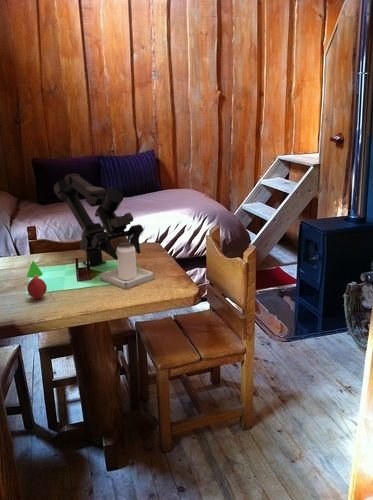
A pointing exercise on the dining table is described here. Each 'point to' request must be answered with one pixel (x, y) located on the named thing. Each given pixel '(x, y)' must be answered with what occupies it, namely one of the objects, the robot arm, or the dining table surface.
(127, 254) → the can
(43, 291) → the red rounded piece
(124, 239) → the brown rounded spiky piece
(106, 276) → the tray
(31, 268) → the green pyramid
